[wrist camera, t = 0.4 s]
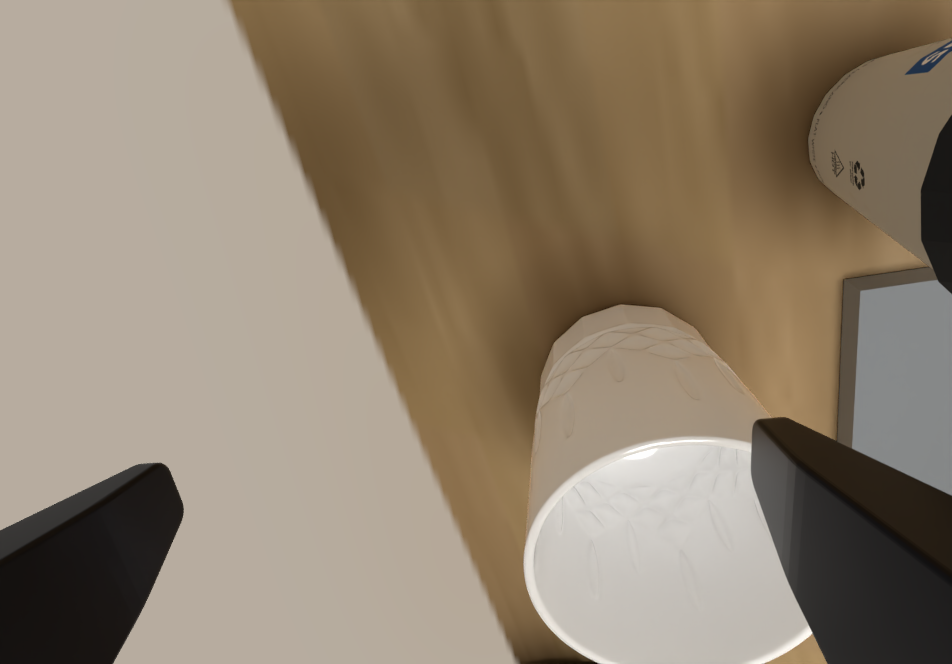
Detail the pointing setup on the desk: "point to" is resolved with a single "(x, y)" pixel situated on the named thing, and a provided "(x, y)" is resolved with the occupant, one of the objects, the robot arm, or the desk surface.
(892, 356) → the gray board
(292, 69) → the desk surface
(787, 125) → the desk surface
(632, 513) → the white cup
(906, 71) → the coffee cup
